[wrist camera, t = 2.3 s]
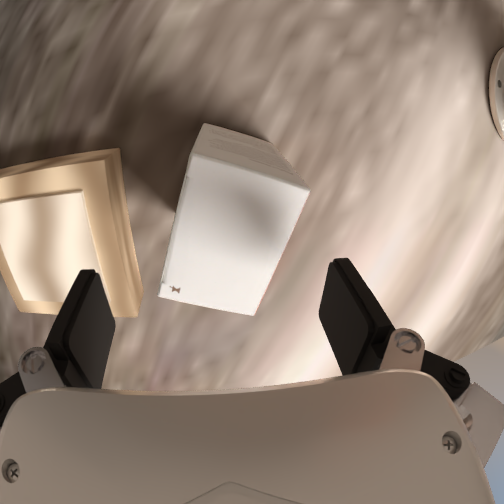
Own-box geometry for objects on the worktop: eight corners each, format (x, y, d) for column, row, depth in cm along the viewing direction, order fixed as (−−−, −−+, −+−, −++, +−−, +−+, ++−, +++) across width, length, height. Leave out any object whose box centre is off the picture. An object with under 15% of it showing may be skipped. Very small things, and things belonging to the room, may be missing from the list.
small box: (240, 230, 25) (254, 320, 17) (176, 214, 24) (155, 300, 15) (274, 141, 22) (316, 190, 13) (203, 120, 20) (190, 152, 11)
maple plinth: (120, 147, 20) (102, 161, 17) (143, 291, 28) (136, 320, 24) (-6, 170, 19) (-31, 187, 15) (32, 290, 26) (18, 314, 23)
